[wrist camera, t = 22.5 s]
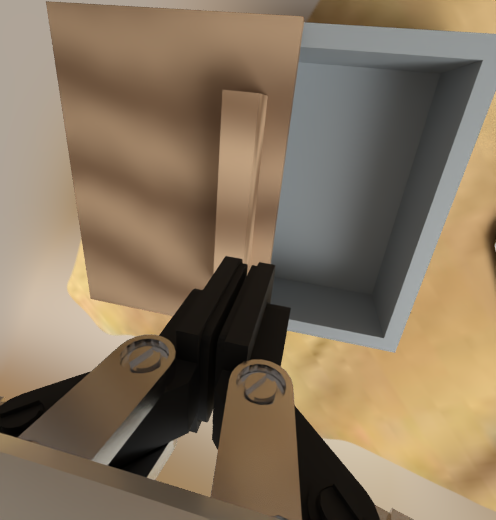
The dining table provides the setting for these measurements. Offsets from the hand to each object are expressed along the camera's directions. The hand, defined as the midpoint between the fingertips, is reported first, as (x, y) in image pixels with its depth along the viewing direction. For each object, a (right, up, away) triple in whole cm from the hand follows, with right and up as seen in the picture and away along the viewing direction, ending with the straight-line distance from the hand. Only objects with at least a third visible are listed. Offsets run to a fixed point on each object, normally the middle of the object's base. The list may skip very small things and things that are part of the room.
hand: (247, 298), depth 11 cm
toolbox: (+4, +9, +20) cm, 22 cm away
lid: (-6, +7, +14) cm, 16 cm away
